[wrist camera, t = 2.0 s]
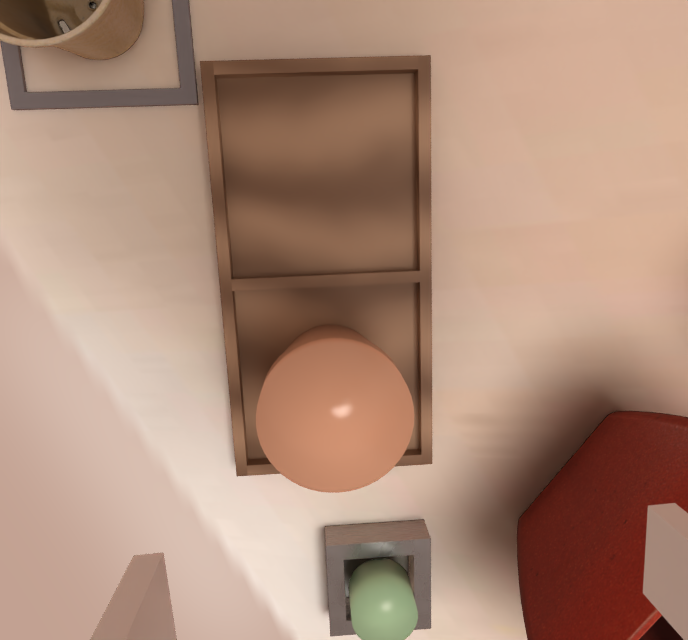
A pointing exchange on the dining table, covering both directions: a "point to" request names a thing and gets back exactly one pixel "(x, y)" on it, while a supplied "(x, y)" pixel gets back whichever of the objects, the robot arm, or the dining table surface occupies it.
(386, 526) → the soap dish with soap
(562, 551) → the plant pot
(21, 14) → the flower pot
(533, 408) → the dining table surface
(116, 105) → the square
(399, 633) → the green soap bar
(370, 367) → the stacked pebble cairn
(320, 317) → the brown divided tray
